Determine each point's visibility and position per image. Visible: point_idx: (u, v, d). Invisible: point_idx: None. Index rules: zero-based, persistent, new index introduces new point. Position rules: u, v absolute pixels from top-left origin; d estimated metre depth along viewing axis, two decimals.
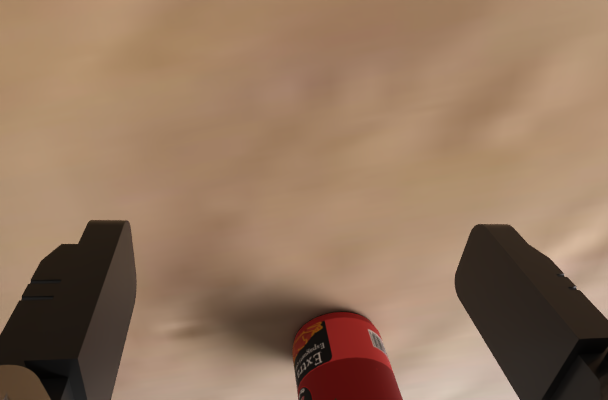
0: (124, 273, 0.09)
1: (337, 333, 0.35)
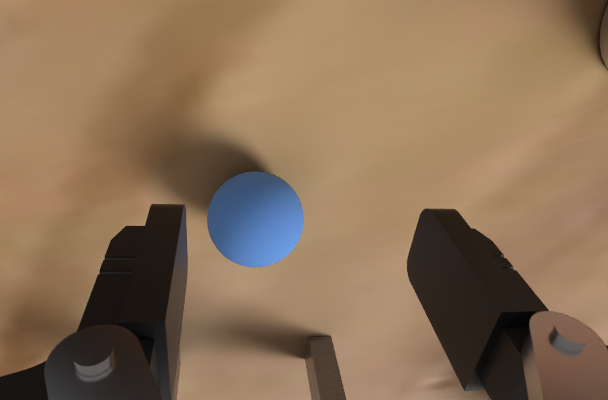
0: (183, 253, 0.10)
1: None
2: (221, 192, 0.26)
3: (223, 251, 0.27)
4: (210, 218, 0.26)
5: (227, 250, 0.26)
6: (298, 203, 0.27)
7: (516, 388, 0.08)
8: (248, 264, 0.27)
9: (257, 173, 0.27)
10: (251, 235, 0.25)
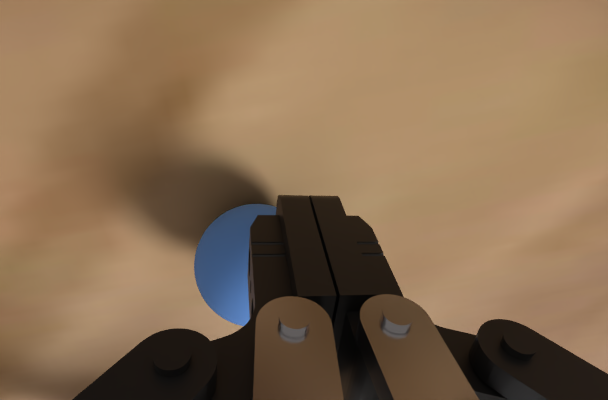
0: None
1: None
2: (213, 232, 0.20)
3: (213, 308, 0.21)
4: (198, 265, 0.20)
5: (218, 307, 0.20)
6: None
7: (351, 371, 0.08)
8: (244, 325, 0.21)
9: (261, 208, 0.21)
10: None
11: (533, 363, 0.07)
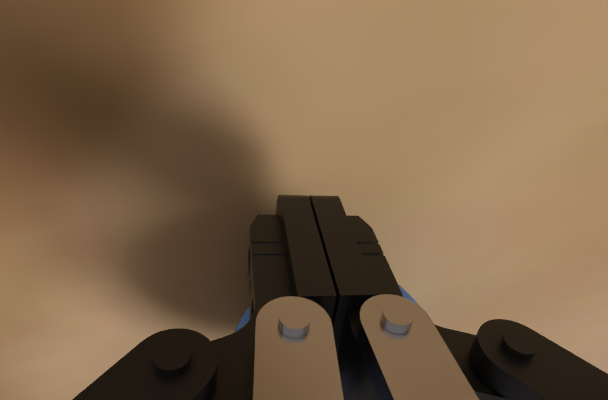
0: None
1: None
2: None
3: None
4: None
5: None
6: None
7: (352, 371, 0.08)
8: None
9: None
10: None
11: (533, 363, 0.07)
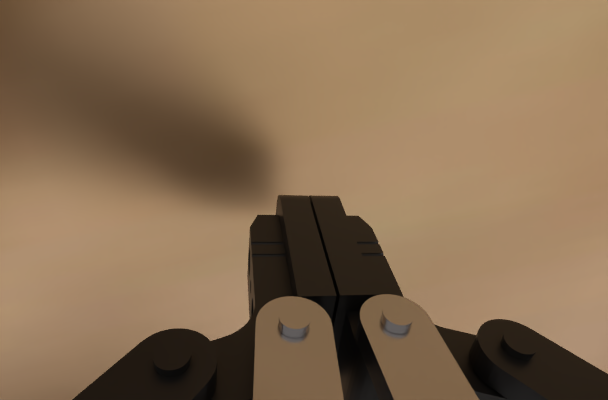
0: None
1: None
2: None
3: None
4: None
5: None
6: None
7: (351, 371, 0.08)
8: None
9: None
10: None
11: (533, 363, 0.07)
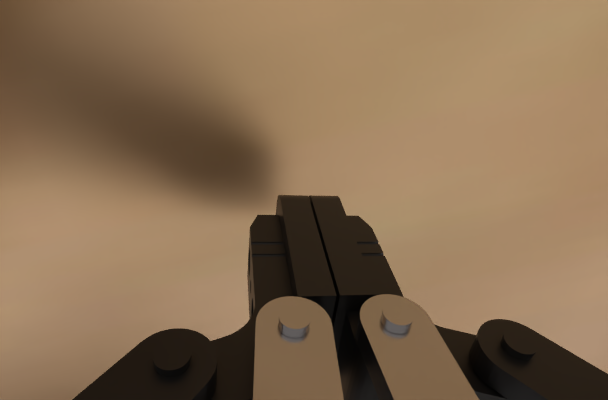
0: None
1: None
2: None
3: None
4: None
5: None
6: None
7: (351, 371, 0.08)
8: None
9: None
10: None
11: (533, 363, 0.07)
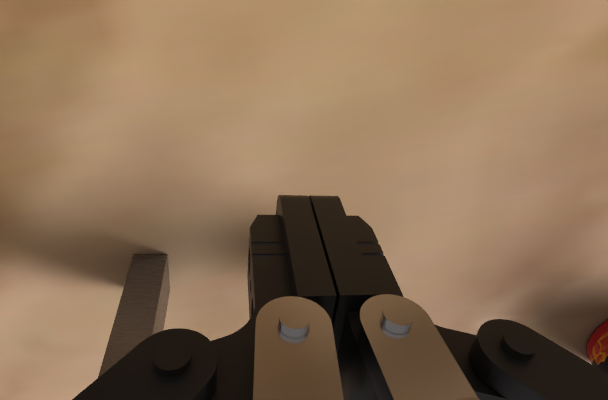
0: None
1: None
2: None
3: None
4: None
5: None
6: None
7: (351, 371, 0.08)
8: None
9: None
10: None
11: (533, 363, 0.07)
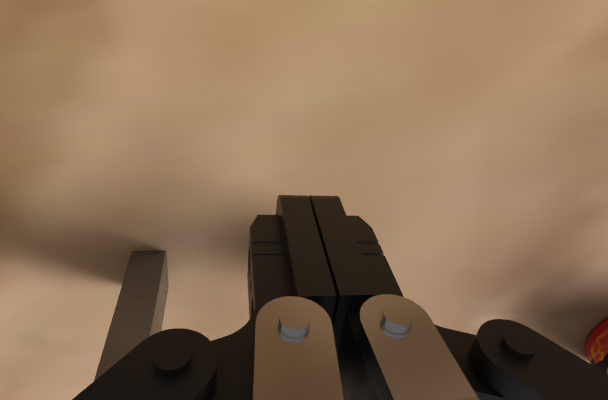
0: None
1: None
2: None
3: None
4: None
5: None
6: None
7: (352, 371, 0.08)
8: None
9: None
10: None
11: (533, 363, 0.07)
